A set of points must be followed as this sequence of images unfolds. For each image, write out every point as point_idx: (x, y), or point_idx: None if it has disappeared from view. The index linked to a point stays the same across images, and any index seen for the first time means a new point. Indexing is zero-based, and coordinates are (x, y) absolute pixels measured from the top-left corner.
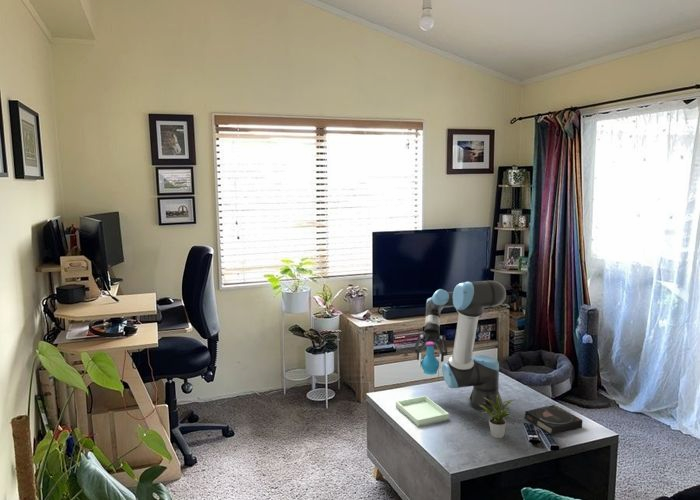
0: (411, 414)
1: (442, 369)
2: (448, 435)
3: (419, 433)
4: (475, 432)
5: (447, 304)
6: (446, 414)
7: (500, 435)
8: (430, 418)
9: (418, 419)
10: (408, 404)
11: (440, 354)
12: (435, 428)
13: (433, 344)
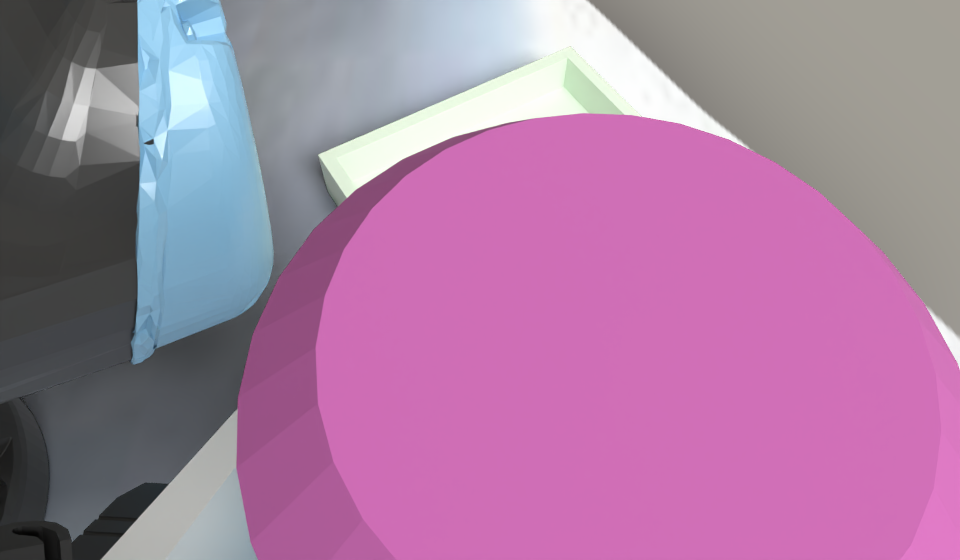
0: (630, 112)
1: (258, 164)
2: (356, 22)
3: (542, 24)
4: None
5: None
6: (340, 147)
7: None
8: (474, 93)
9: (564, 55)
10: None
11: (136, 548)
12: (438, 80)
13: (363, 192)
